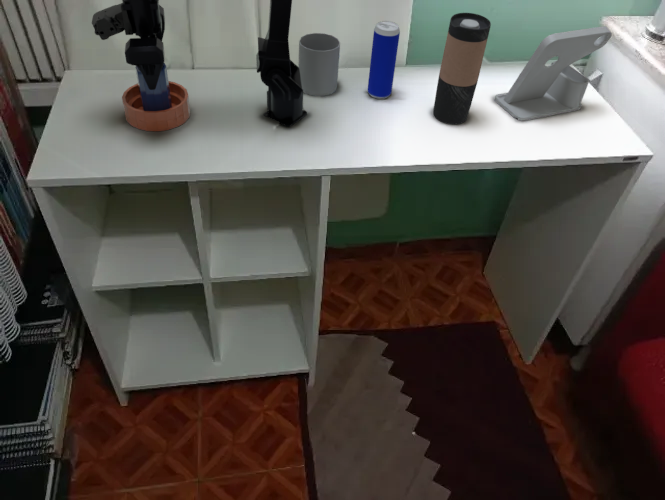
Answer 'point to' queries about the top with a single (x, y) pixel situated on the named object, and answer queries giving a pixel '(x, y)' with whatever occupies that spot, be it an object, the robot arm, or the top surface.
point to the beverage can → (383, 59)
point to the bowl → (157, 118)
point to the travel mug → (460, 67)
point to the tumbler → (155, 92)
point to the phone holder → (553, 75)
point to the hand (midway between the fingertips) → (152, 76)
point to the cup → (319, 63)
